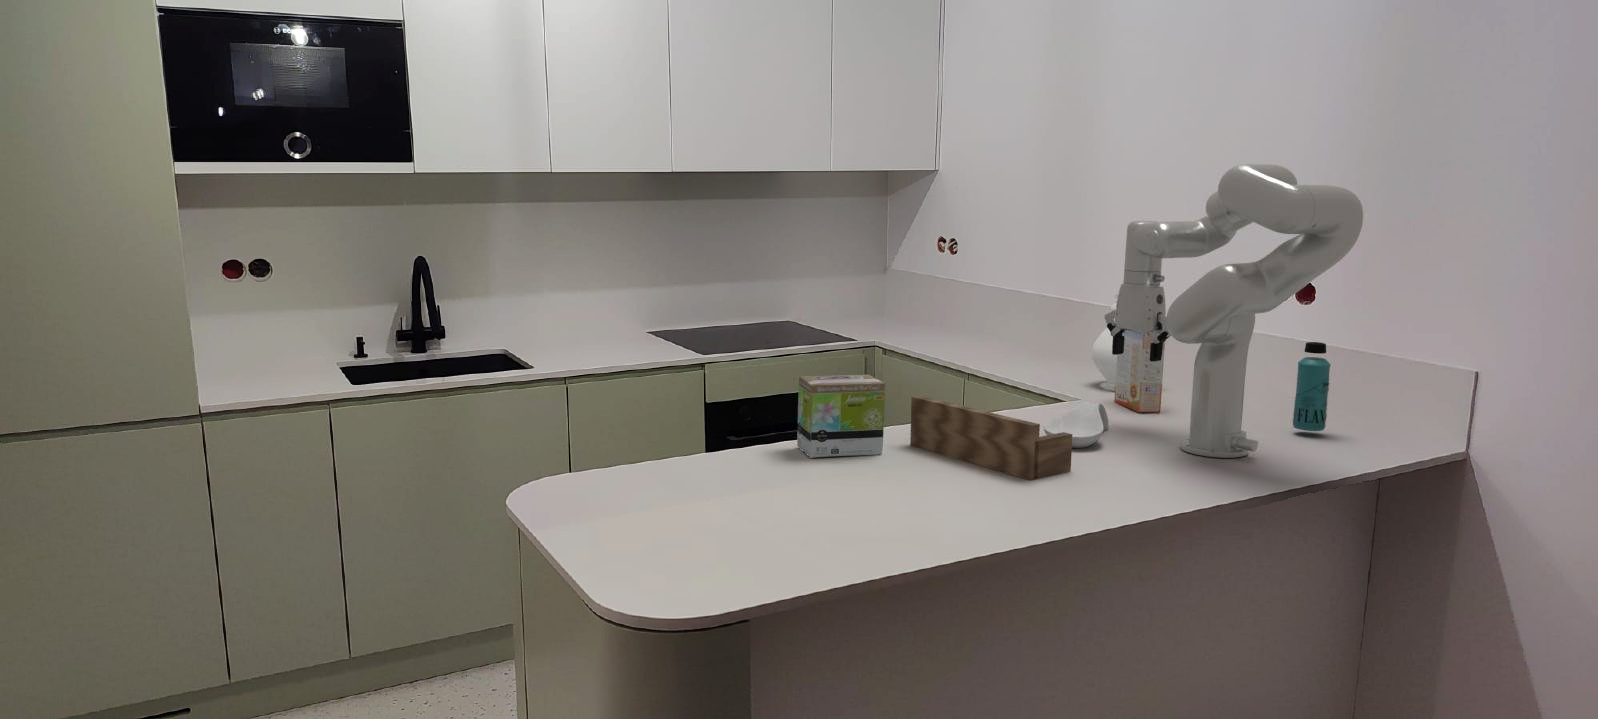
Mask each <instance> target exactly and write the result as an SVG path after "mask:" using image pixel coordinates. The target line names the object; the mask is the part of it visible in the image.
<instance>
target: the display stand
mask: <svg viewBox="0 0 1598 719" xmlns="http://www.w3.org/2000/svg"><path fill="white" fill-rule="evenodd" d="M910 401H911V403H910V405H911V406H910V438H909V440H910V446H913V447H915V446H917V447H916V448H918V449H919V448H920V449H923V450H926V451H930V452H932V453H935V454H940V455H942V456H945V457H950V458H953V459H956V460H960V461H962V462H966V463H969V464H974V465H977V466H980V467H983V468H987V469H991V470H993V471H997V472H1001V473H1004V474H1007V475H1010V476H1014V477H1016V478H1021V479H1024V480H1028V481H1032V480H1038V479H1042V478H1046V477H1051V476H1056V475H1059V474H1065V473H1068V472H1069V473H1070V472H1071V471H1072V470H1071V469H1072V455H1073V454H1072V452H1073V451H1072V449H1073V448H1072V434H1070V433H1065V432H1062V433H1057V434H1052V435H1046V434H1045V435H1041V436H1040V431H1041V425H1040V424H1039V423H1036V422H1032V421H1027V420H1024V419H1021V418H1016V417H1011V416H1007V415H1002V414H999V413H993V412H989V411H986V410H982V409H976V408H972V407H968V406H966V405H965V406H964V405H961V404H960V405H959V404H955V403H951V402H946V401H944V400H938V399H934V398H929V397H925V396H921V395H914V396H911V400H910Z"/></svg>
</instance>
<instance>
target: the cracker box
mask: <svg viewBox="0 0 1598 719" xmlns="http://www.w3.org/2000/svg"><path fill="white" fill-rule="evenodd" d="M1162 332H1164V330H1163V331H1162ZM1122 336H1124V337H1125V340H1124V353H1123V354H1118V355H1117V367H1116V383H1115V391H1114V403H1116V404H1119V405H1121V406H1124V407H1126V408H1128V409H1129V410H1132V411H1135V412H1136V413H1138V414H1139V413H1142V414H1144V413H1145V414H1146V413H1147V414H1148V413H1150V414H1151V413H1153V414H1154V413H1157V414H1158V413H1161V408H1162V407H1161V405H1162V391H1163V376H1164V361H1165V348H1166V346H1165V345H1166V341H1165V342H1163V350H1162V357H1161V360H1160V361H1154V362H1152V361H1150V347H1151V343H1154V342H1153V340H1152V338H1151V336H1150V335H1149V333H1142V332H1136V331H1129V330H1126V331H1125V332H1124V333H1123V334H1122Z"/></svg>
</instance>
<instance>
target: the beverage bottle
mask: <svg viewBox="0 0 1598 719" xmlns="http://www.w3.org/2000/svg"><path fill="white" fill-rule="evenodd" d="M1304 347H1305V348H1304V353H1308V354H1318V355H1319V354H1323V355H1324V354H1327V344H1326V343H1324V342H1319V341H1308V342H1305V346H1304ZM1297 364H1298V366H1297V375H1296V376H1297V377H1296V389H1295V397H1294V398H1295V399H1294V405H1293V406H1294V407H1293V412H1292V413H1293V414H1292V426H1293V428H1294V429H1296V430H1301V431H1307V432H1309V431H1310V432H1322V431H1324V430H1325V428H1326V427H1327V423H1326V422H1327V417H1328V413H1327V409H1328V404H1329V402H1328V398H1329V387H1330V379H1331V378H1330V370H1331V363H1330V362H1329V361H1328V360H1327V359H1326V358H1324V357H1323V358H1322V357H1317V356H1316V357H1314V356H1307V357H1303V358H1302V359H1300V360H1299V361H1298V362H1297Z"/></svg>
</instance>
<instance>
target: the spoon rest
mask: <svg viewBox="0 0 1598 719" xmlns="http://www.w3.org/2000/svg"><path fill="white" fill-rule="evenodd" d="M1109 428H1110V425H1109V416H1108V413H1107V410H1106V408H1105V406H1104V405H1103V404H1102V403H1101V402H1098V403H1097V402H1096V403H1092V402H1090V401H1083V402H1081V403H1079V404H1078V405H1076V406H1074V407H1073V408H1071V409H1069V410H1068V411H1066V412H1064V413H1062V414H1061V415H1059V416H1057V417H1055V418H1053V419H1052V420H1050V421H1048V422H1046V423H1045V424H1044V425H1043V431H1044V433H1045V436H1046V435H1052V434H1057V433H1062V432H1065V433H1070V434H1072V449H1083V448H1088V447H1089V446H1091V445H1093V444H1095V443H1096V442H1097V441H1098V440H1100V438H1101V436H1102V435H1103V432H1104V431H1108V430H1109Z"/></svg>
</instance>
